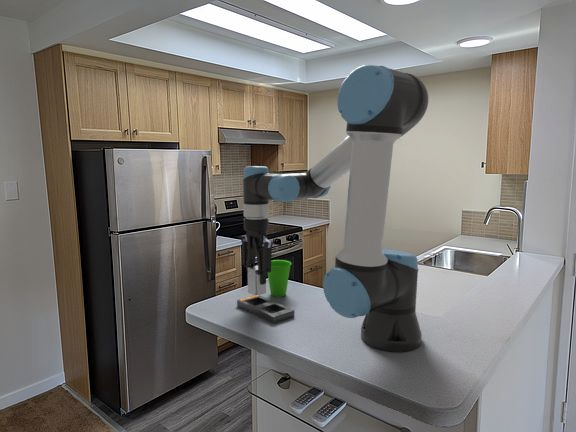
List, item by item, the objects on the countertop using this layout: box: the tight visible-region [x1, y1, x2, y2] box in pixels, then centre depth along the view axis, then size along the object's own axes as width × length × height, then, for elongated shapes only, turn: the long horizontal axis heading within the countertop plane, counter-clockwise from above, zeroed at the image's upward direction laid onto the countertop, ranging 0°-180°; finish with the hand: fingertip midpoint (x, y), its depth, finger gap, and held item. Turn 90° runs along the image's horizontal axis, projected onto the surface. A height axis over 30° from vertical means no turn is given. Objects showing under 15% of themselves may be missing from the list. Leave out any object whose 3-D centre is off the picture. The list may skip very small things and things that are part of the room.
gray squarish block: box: [247, 264, 267, 296], centre depth 122 cm, size 4×4×8 cm
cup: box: [267, 259, 293, 298], centre depth 134 cm, size 9×9×11 cm
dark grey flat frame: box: [236, 295, 295, 325], centre depth 120 cm, size 18×8×2 cm, turn 42°
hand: (256, 291), depth 122 cm, fingers closed on gray squarish block, 4 cm apart
